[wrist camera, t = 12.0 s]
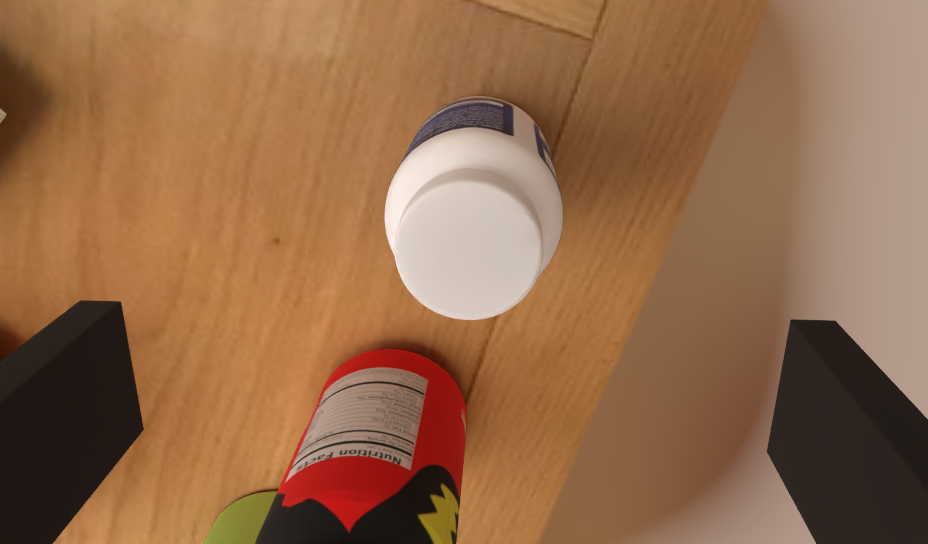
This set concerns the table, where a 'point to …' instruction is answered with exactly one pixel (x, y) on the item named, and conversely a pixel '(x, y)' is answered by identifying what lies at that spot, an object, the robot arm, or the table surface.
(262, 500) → the tumbler
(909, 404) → the robot arm
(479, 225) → the pill bottle
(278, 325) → the table surface
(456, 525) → the beverage can
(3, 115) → the pale green cover
